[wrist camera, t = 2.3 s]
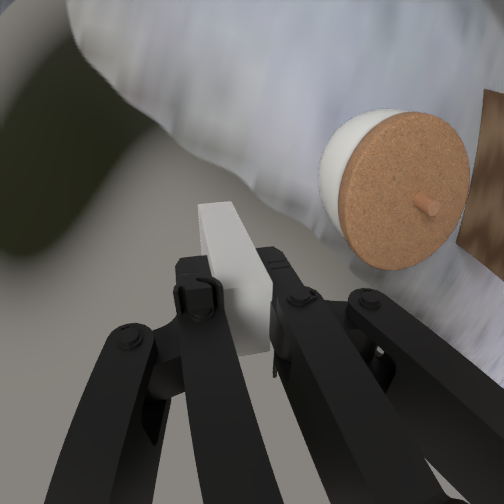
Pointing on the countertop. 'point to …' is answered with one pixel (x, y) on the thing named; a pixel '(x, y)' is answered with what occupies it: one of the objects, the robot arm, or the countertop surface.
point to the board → (487, 191)
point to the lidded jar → (394, 185)
